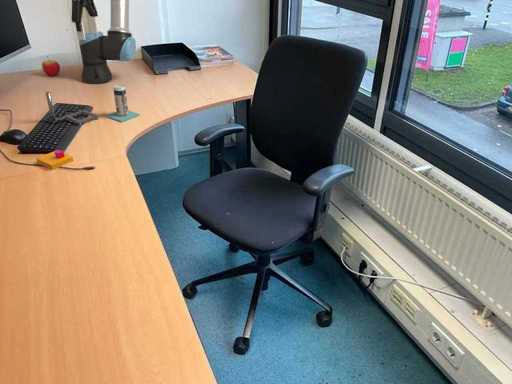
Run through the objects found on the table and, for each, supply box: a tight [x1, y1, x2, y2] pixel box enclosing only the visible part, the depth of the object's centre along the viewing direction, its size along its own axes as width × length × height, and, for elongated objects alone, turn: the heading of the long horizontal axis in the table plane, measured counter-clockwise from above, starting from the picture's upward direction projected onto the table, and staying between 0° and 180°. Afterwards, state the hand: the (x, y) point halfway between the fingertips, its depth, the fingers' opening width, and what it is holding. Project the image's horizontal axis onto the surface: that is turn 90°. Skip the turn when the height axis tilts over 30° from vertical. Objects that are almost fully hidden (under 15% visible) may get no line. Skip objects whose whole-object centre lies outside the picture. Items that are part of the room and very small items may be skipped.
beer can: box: [113, 84, 129, 116], centre depth 174 cm, size 5×5×12 cm
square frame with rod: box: [45, 91, 99, 126], centre depth 168 cm, size 14×14×12 cm
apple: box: [41, 55, 61, 77], centre depth 218 cm, size 8×8×10 cm
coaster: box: [104, 109, 141, 123], centre depth 177 cm, size 10×10×1 cm
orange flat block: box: [35, 149, 74, 171], centre depth 139 cm, size 8×8×4 cm
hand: (88, 36), depth 174 cm, fingers open, 13 cm apart
